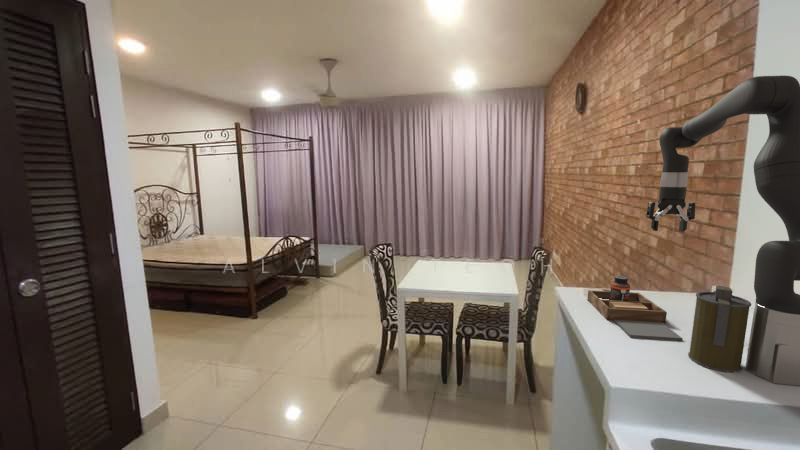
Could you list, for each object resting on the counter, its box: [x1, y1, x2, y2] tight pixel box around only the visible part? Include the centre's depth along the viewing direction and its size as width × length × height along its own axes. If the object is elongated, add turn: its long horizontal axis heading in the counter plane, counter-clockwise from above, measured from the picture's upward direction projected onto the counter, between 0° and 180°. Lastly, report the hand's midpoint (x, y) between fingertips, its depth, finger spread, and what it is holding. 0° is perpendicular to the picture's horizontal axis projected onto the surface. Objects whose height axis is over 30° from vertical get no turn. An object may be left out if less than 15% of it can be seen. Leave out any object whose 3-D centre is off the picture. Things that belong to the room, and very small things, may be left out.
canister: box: [687, 285, 752, 373], centre depth 90 cm, size 11×10×20 cm
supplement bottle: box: [609, 275, 631, 301], centre depth 128 cm, size 6×6×11 cm
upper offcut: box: [609, 302, 648, 310], centre depth 119 cm, size 5×10×2 cm, turn 81°
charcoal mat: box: [614, 320, 683, 342], centre depth 109 cm, size 11×14×1 cm
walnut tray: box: [587, 290, 668, 325], centre depth 124 cm, size 18×18×4 cm
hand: (668, 231), depth 125 cm, fingers open, 8 cm apart
